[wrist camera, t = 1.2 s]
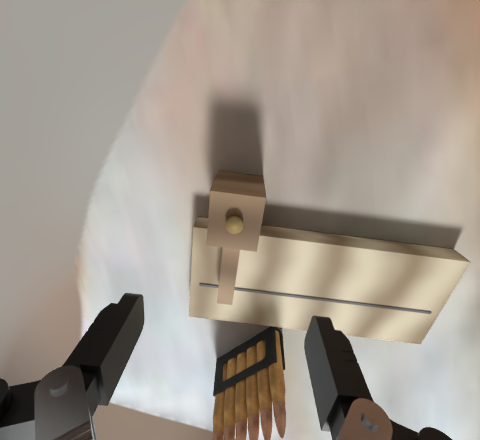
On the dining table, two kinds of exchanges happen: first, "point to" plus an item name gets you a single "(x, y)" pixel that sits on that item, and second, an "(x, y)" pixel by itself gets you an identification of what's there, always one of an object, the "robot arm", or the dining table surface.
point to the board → (328, 283)
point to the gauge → (234, 223)
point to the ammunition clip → (250, 388)
